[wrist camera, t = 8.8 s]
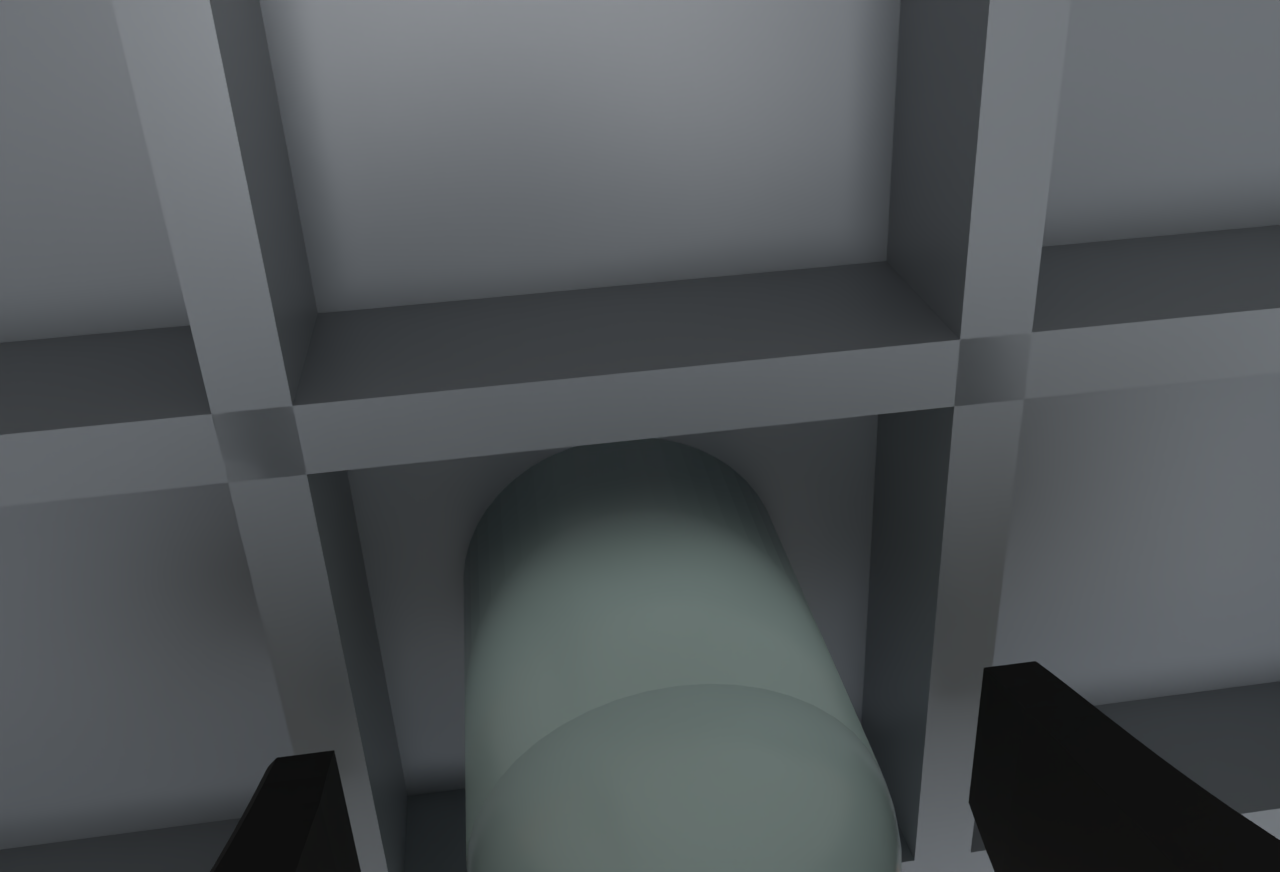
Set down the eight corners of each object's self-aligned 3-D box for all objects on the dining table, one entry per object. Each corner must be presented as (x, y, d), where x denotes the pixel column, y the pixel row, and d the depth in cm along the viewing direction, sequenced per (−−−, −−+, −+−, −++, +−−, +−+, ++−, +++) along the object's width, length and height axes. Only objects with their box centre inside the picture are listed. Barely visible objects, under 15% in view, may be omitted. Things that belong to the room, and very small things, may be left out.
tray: (-148, 861, 18) (-269, 1073, 15) (-804, -452, 11) (-1314, -556, 8) (1324, 668, 21) (1474, 818, 18) (1662, -523, 13) (2035, -623, 10)
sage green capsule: (481, 718, 18) (496, 1234, 11) (444, 456, 15) (437, 909, 9) (777, 681, 18) (950, 1158, 12) (779, 420, 16) (992, 830, 10)
